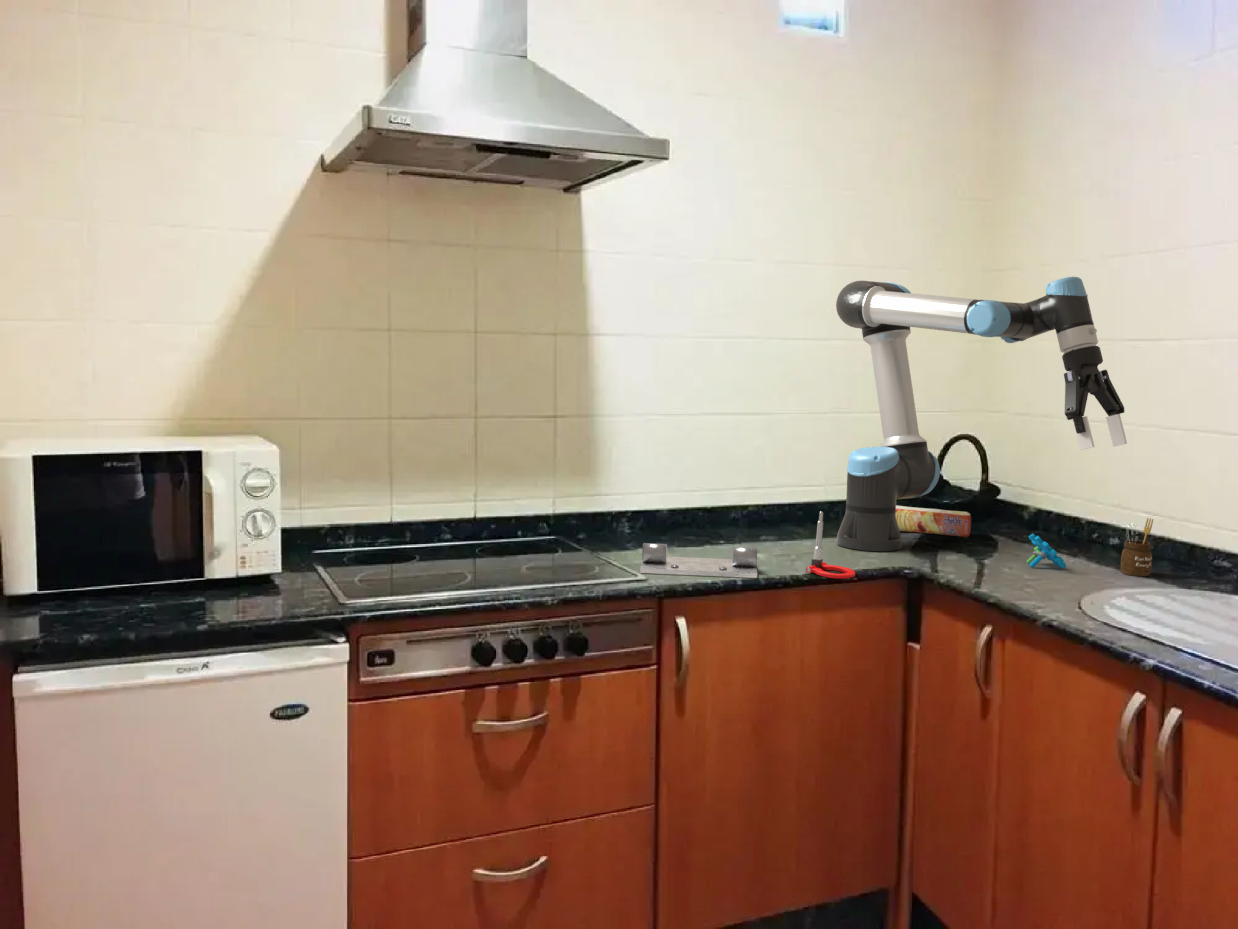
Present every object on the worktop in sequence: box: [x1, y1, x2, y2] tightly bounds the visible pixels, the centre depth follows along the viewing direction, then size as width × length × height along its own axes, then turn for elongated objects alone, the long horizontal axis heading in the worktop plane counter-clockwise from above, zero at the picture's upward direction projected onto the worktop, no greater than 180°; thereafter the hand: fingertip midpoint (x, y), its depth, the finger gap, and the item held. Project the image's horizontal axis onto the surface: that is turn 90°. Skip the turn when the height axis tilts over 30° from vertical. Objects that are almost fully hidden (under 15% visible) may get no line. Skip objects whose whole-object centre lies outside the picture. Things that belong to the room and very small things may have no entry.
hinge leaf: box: [639, 542, 758, 579], centre depth 217 cm, size 13×24×5 cm, turn 84°
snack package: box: [896, 504, 972, 538], centre depth 267 cm, size 21×7×7 cm, turn 69°
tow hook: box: [805, 511, 856, 580], centre depth 215 cm, size 8×13×9 cm
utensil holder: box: [1120, 517, 1154, 577], centre depth 221 cm, size 6×6×12 cm
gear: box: [1025, 533, 1068, 570], centre depth 227 cm, size 11×6×10 cm
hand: (1104, 446), depth 215 cm, fingers open, 13 cm apart
